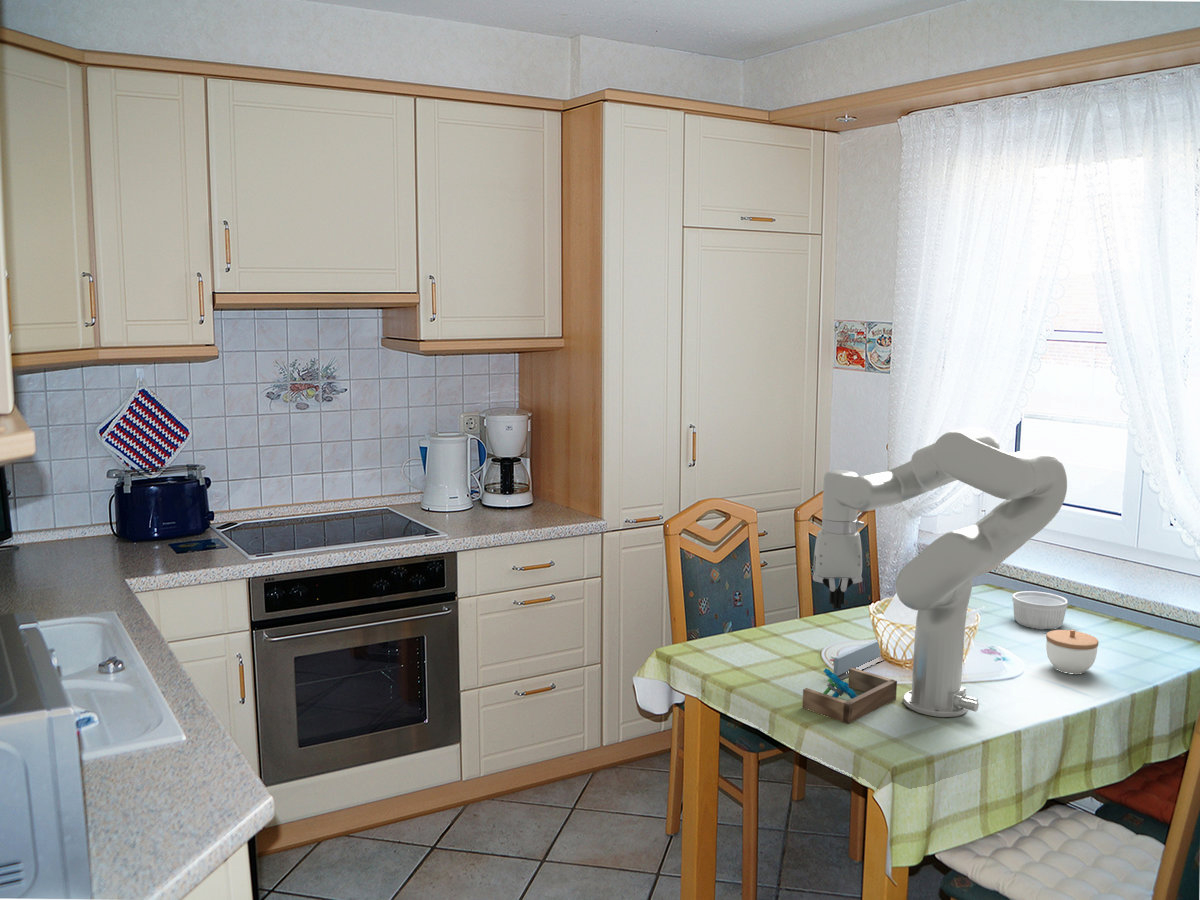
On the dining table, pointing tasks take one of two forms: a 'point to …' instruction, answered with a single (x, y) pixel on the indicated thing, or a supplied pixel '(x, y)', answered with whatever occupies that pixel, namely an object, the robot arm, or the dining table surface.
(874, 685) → the frame
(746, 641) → the dining table surface
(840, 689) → the blue toy model
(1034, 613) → the ramekin
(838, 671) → the gate
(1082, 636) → the lidded jar
